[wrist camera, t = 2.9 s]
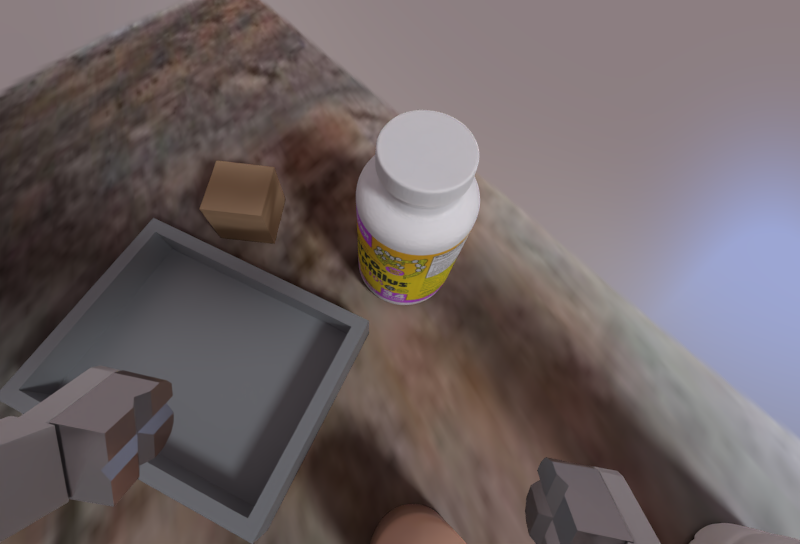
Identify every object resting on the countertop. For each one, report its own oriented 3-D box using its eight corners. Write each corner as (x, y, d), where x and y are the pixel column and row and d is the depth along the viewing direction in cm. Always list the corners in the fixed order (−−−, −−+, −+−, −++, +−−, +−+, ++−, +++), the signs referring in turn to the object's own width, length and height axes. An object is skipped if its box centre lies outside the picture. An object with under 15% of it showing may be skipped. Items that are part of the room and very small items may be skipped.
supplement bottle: (340, 258, 28) (321, 131, 17) (408, 213, 30) (434, 72, 19) (396, 326, 27) (419, 239, 15) (464, 274, 29) (532, 161, 17)
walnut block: (274, 244, 29) (261, 215, 25) (221, 238, 28) (199, 209, 25) (285, 199, 30) (274, 167, 27) (234, 194, 30) (216, 160, 26)
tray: (267, 530, 21) (252, 543, 19) (38, 402, 23) (-6, 397, 20) (368, 333, 26) (368, 320, 24) (174, 239, 28) (153, 217, 25)
